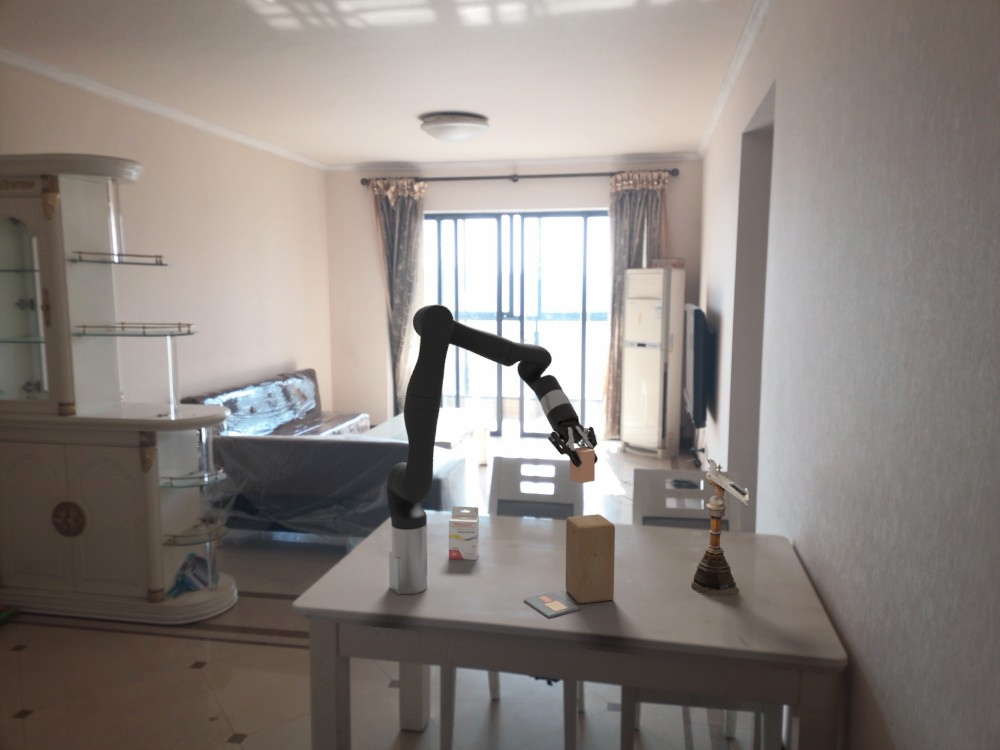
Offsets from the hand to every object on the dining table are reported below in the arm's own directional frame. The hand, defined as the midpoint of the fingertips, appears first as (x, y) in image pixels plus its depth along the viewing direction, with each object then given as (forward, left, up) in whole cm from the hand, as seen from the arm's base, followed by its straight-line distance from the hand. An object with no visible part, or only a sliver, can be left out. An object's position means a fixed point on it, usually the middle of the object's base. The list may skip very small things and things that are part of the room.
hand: (587, 463), depth 177 cm
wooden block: (+1, -1, -35) cm, 35 cm away
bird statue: (+35, -15, -35) cm, 51 cm away
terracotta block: (0, +2, -5) cm, 5 cm away
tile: (-11, -1, -34) cm, 36 cm away
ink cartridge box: (-14, +40, -35) cm, 55 cm away
